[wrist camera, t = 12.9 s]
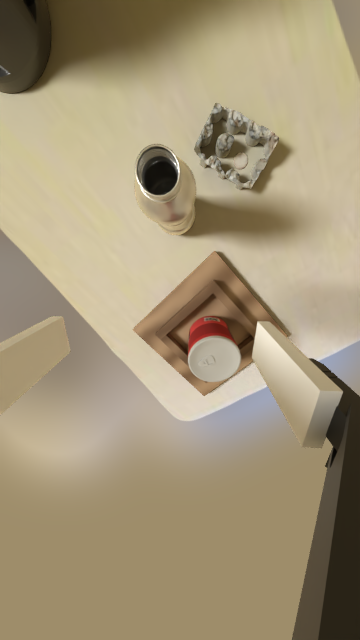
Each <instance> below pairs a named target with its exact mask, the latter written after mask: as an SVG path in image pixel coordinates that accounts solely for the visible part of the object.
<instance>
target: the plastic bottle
mask: <svg viewBox="0 0 360 640" xmlns="http://www.w3.org/2000/svg"><path fill="white" fill-rule="evenodd" d="M135 174H136V176H135V183H134V189H135V196H136V200H137V203H138V205H139V207H140V209H141V210H142V212H143V213H144V214H145V215H146V216H147V217H148V218H150V219H151V220H152V221H155V222H157V223H158V225H159V226H160V228H161V229H162V230H163V231H165V232H166V233H168V234H171V235H180V234H183V233H185V232H187V231H188V230H189V229H190V228H191V227H192V225H193V223H194V220H195V207H194V203H195V198H196V183H195V179H194V176H193V174H192V172H191V170H190V168H189V167H188V166H187V165H186V163H185V162H183V161H182V160H181V159H180V158H179V157H177V156H176V155H175V154H174V153H173V151H172V150H171V149H169V148H168V147H166V146H164V145H161V144H153V145H149V146H147V147H146V148H144V149H143V150H142V151H141V152H140V154H139V156H138V158H137V160H136V165H135Z"/></svg>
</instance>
